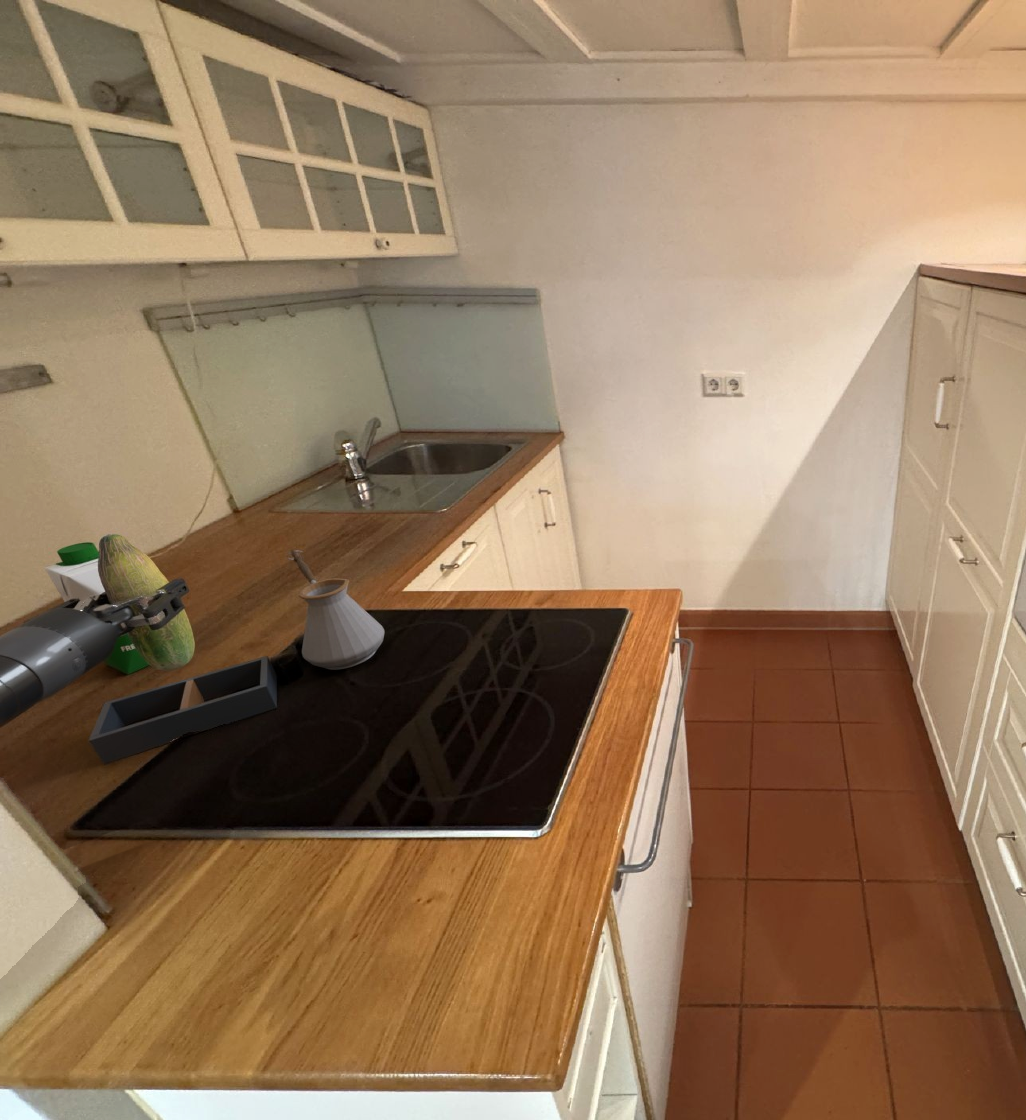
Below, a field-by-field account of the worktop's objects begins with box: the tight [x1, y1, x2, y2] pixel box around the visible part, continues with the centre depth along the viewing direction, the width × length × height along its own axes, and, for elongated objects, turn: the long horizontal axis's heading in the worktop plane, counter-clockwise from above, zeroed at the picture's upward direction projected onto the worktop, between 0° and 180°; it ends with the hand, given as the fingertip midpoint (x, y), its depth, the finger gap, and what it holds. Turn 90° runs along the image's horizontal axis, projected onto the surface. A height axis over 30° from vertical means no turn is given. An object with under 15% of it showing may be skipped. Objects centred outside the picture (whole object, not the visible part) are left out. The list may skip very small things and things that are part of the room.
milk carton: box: [44, 541, 150, 675], centre depth 97 cm, size 9×9×20 cm
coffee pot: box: [286, 549, 386, 671], centre depth 100 cm, size 21×12×15 cm, turn 48°
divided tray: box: [88, 655, 278, 765], centre depth 87 cm, size 18×10×4 cm, turn 126°
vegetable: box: [98, 533, 196, 672], centre depth 80 cm, size 6×6×20 cm
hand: (155, 586), depth 81 cm, fingers closed on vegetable, 6 cm apart
